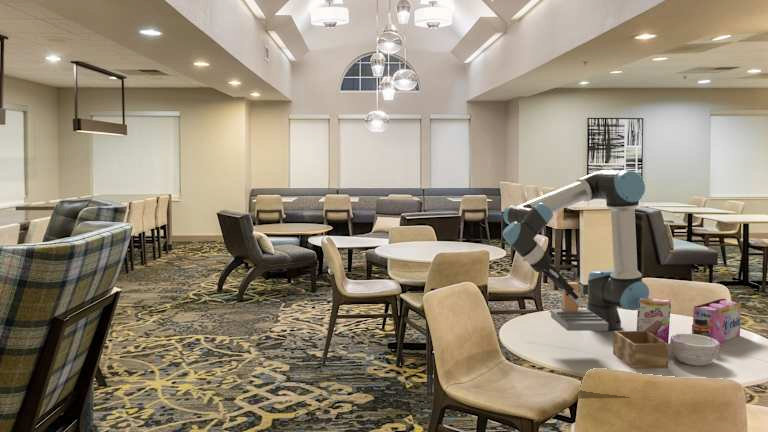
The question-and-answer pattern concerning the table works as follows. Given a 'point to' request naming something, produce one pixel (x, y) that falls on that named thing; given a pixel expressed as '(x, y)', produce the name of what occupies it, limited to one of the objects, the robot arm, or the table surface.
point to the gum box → (720, 318)
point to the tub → (640, 349)
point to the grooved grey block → (577, 315)
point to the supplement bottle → (701, 327)
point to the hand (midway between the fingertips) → (580, 302)
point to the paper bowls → (694, 348)
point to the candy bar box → (654, 317)
